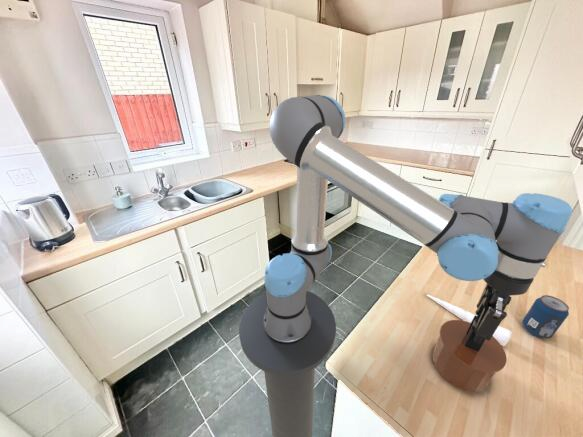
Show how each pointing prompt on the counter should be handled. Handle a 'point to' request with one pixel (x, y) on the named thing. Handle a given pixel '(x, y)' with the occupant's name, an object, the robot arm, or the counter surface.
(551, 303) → the soda can
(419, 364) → the counter surface
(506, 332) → the unicorn horn
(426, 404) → the counter surface
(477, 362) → the crock lid
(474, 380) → the crock
